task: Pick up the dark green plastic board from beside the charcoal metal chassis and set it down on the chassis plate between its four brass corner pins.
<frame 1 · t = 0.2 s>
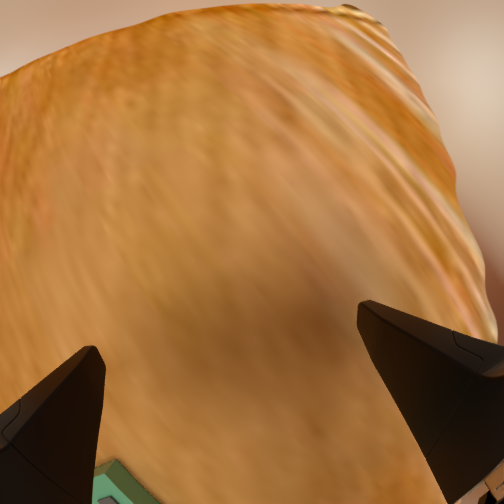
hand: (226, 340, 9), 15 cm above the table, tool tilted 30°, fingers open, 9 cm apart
board: (133, 498, 20), on the table
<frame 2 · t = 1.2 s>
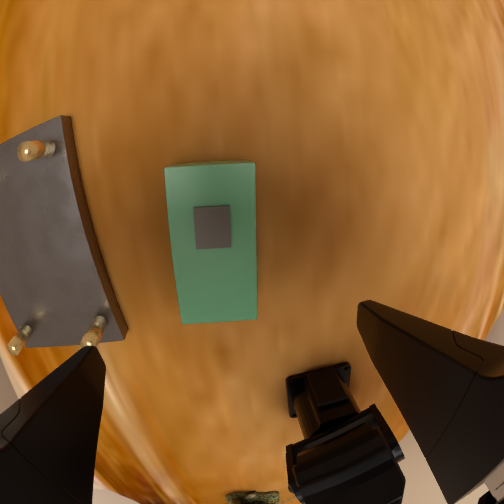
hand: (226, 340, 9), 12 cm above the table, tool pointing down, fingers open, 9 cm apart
frog figurine: (249, 496, 38), on the table
chassis: (38, 245, 18), on the table
board: (213, 233, 20), on the table
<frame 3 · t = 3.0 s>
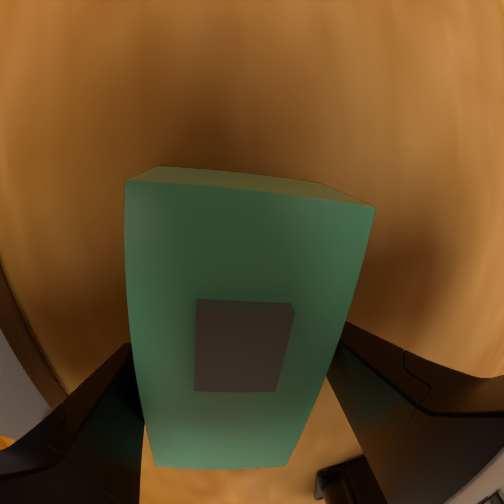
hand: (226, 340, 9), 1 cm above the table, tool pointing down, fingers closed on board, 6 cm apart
board: (224, 316, 10), on the table, touching gripper
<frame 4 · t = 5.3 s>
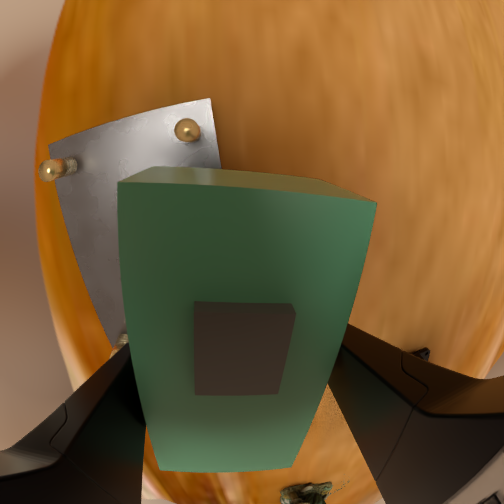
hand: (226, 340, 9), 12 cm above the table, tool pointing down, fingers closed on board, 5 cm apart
frog figurine: (302, 489, 38), on the table
chassis: (153, 242, 19), on the table
board: (225, 317, 10), point 10 cm above the table, touching gripper
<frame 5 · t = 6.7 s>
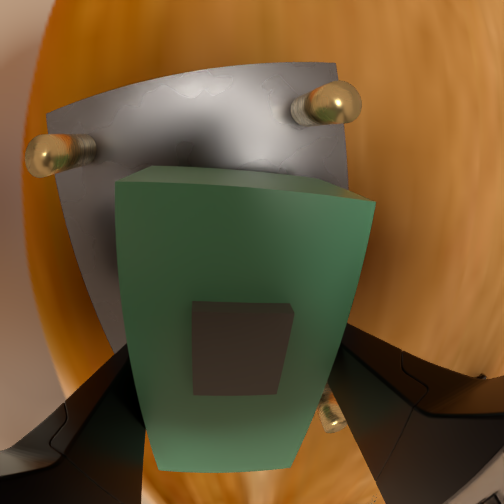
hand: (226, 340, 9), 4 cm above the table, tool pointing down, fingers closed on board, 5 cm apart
chassis: (218, 278, 13), on the table
board: (224, 317, 10), point 3 cm above the table, touching gripper
when the fingers open (4 cm above the table, at t = 7.6 s): board stays where it is, resting on chassis.
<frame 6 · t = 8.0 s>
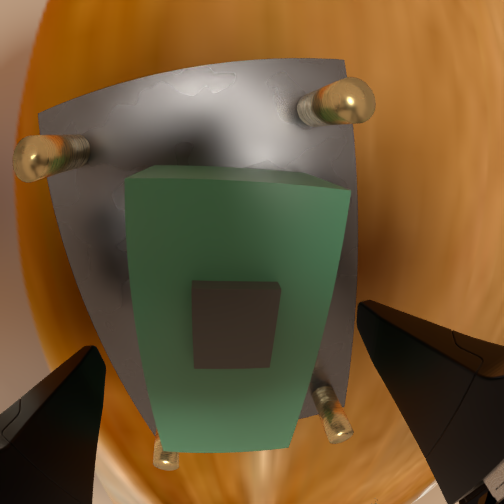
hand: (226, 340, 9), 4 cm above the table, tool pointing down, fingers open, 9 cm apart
chassis: (220, 286, 12), on the table
board: (223, 303, 11), point 1 cm above the table, touching chassis
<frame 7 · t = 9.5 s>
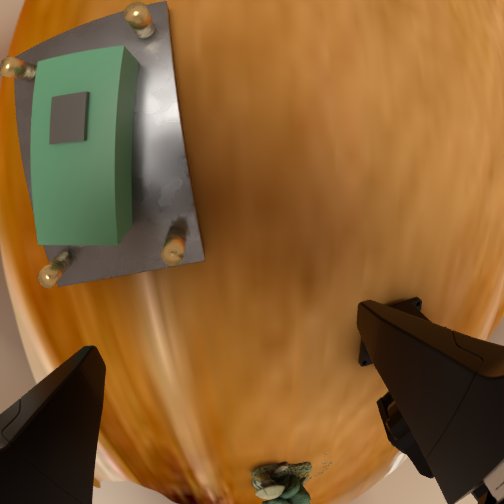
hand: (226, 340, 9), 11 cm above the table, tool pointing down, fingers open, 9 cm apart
frog figurine: (276, 470, 35), on the table
chassis: (100, 145, 16), on the table
board: (93, 145, 15), point 1 cm above the table, touching chassis
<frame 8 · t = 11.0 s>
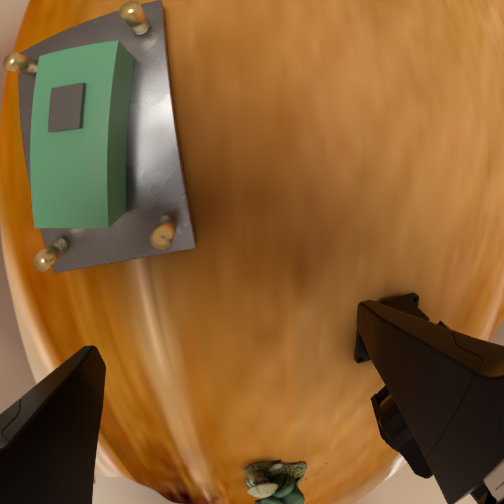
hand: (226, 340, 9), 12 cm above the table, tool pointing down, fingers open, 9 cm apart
frog figurine: (270, 469, 34), on the table
chassis: (97, 136, 17), on the table
board: (90, 135, 15), point 1 cm above the table, touching chassis
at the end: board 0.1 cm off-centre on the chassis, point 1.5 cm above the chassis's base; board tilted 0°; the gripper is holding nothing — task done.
